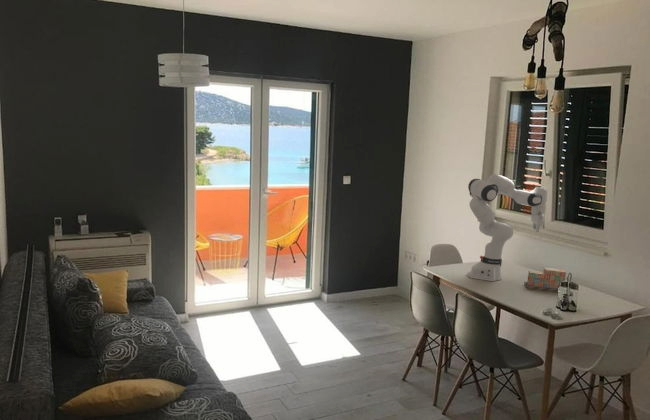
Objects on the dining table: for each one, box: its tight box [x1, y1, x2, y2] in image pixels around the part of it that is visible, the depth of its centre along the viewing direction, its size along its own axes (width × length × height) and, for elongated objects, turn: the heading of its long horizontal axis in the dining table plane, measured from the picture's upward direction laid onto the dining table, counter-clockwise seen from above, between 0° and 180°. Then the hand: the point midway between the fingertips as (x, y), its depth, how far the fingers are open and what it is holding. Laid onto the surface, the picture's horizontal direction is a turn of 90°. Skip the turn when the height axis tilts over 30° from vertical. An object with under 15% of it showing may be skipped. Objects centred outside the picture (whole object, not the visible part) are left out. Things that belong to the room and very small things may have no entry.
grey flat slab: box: [523, 281, 558, 293], centre depth 352 cm, size 25×10×2 cm, turn 80°
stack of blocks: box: [526, 267, 567, 289], centre depth 351 cm, size 21×6×12 cm, turn 78°
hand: (535, 230), depth 372 cm, fingers open, 8 cm apart
